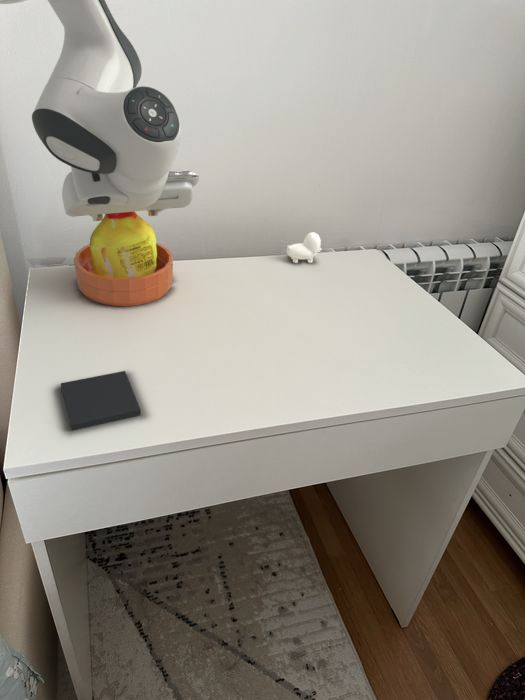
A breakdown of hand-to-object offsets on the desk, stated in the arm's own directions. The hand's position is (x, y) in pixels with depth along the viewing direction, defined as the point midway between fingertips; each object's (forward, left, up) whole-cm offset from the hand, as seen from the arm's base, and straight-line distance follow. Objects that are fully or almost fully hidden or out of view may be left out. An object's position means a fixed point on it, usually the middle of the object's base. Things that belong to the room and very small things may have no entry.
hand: (124, 214), depth 92 cm
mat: (-11, -30, -14) cm, 35 cm away
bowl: (0, +2, -14) cm, 14 cm away
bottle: (0, +2, -14) cm, 14 cm away
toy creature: (+38, +2, -14) cm, 41 cm away
